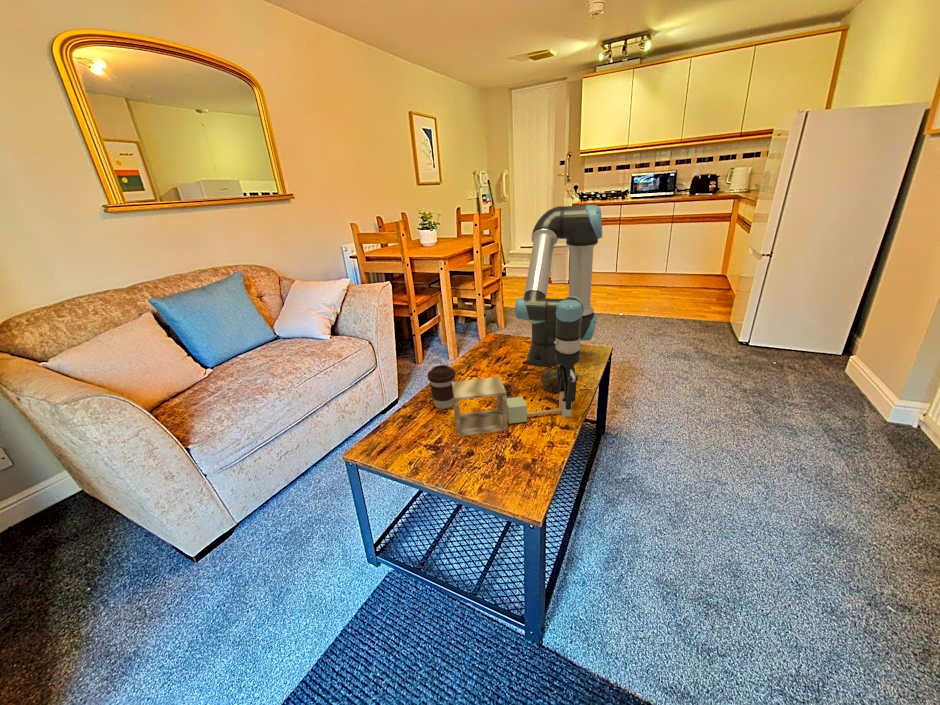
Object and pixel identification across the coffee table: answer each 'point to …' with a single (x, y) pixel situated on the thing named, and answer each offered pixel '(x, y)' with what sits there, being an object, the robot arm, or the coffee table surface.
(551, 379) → the seashell
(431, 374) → the coffee cup
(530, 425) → the coffee table surface
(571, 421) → the coffee table surface
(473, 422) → the frame
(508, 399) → the tethered block
